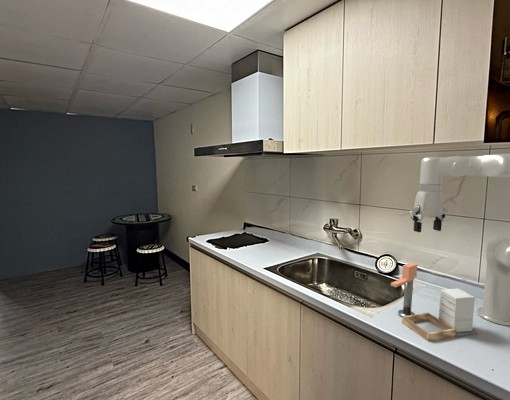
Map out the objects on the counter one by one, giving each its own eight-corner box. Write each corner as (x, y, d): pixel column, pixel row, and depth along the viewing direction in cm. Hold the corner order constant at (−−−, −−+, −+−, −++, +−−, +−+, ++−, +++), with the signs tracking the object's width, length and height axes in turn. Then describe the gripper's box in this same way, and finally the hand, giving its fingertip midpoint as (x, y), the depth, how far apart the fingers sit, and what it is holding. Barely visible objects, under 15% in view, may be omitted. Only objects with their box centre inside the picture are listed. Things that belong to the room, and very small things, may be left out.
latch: (416, 279, 112) (417, 264, 111) (396, 287, 104) (397, 271, 103) (410, 277, 114) (411, 262, 113) (390, 285, 106) (391, 269, 105)
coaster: (453, 320, 109) (453, 318, 109) (477, 333, 101) (477, 331, 101) (434, 323, 107) (434, 321, 107) (456, 337, 98) (456, 335, 98)
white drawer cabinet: (455, 320, 108) (458, 288, 106) (472, 331, 101) (476, 296, 99) (437, 321, 107) (440, 288, 106) (453, 332, 100) (456, 298, 98)
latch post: (407, 310, 116) (409, 276, 115) (419, 318, 111) (421, 282, 109) (394, 312, 115) (396, 277, 113) (406, 320, 109) (408, 283, 108)
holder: (427, 318, 110) (428, 312, 110) (455, 336, 99) (456, 329, 99) (402, 322, 107) (402, 316, 107) (428, 341, 96) (428, 334, 96)
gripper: (439, 187, 119) (436, 228, 121) (404, 188, 115) (402, 230, 117) (456, 188, 112) (452, 231, 114) (419, 189, 108) (416, 234, 110)
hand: (427, 231), depth 116 cm, fingers open, 9 cm apart
